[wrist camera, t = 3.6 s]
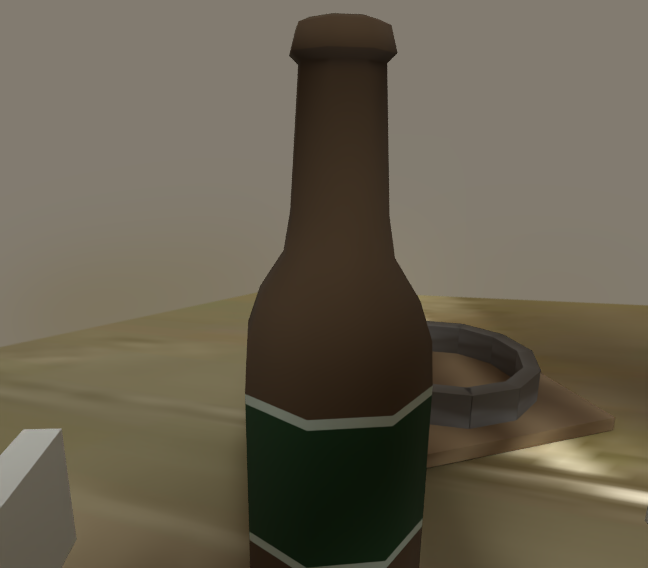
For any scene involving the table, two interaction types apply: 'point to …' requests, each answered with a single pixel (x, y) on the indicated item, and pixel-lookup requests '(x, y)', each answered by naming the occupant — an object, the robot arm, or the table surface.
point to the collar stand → (497, 398)
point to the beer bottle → (338, 332)
